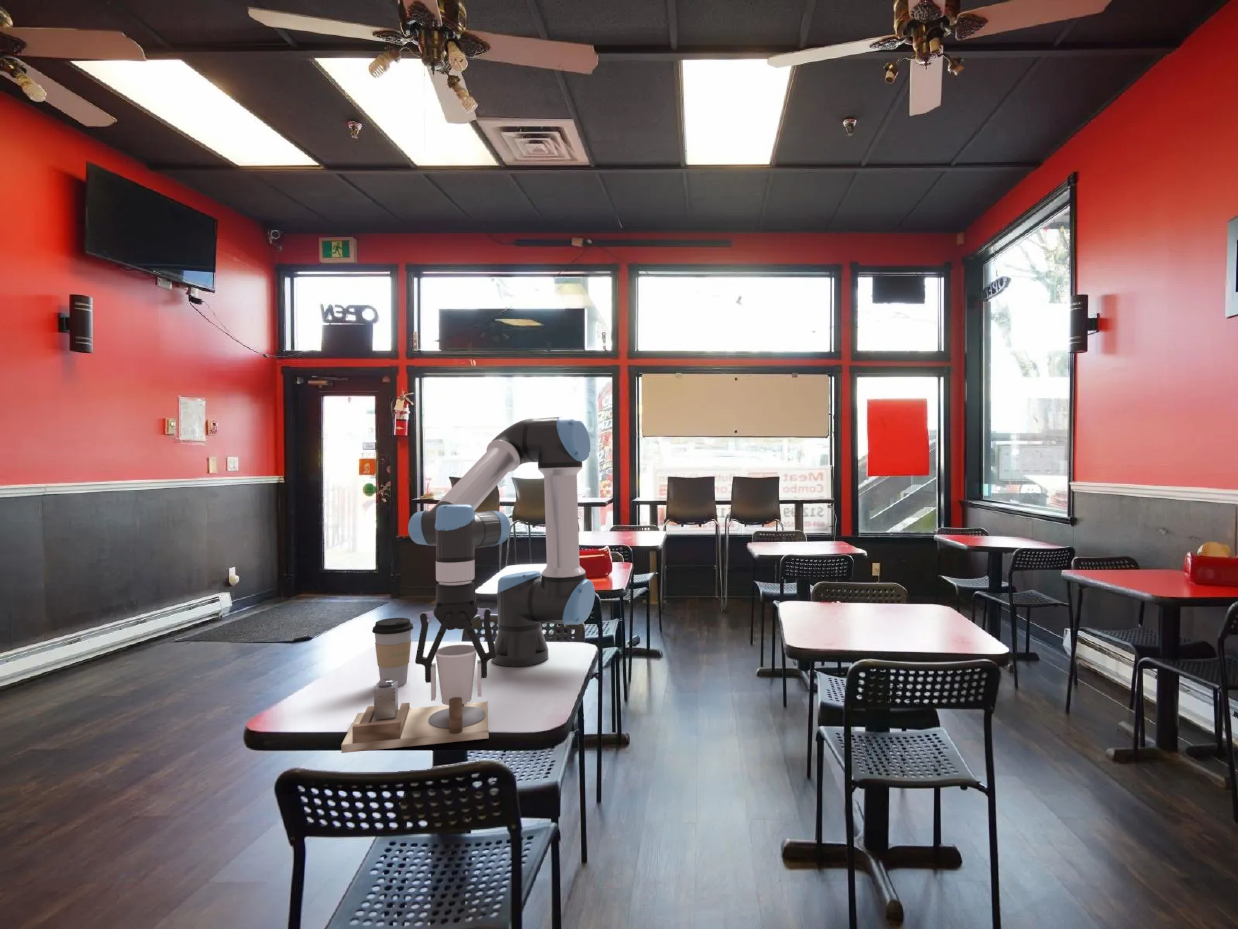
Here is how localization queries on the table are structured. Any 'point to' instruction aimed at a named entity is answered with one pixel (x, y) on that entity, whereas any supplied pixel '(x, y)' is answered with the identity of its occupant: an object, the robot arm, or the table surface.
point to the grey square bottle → (386, 699)
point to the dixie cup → (456, 671)
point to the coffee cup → (393, 648)
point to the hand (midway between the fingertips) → (456, 696)
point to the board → (418, 726)
